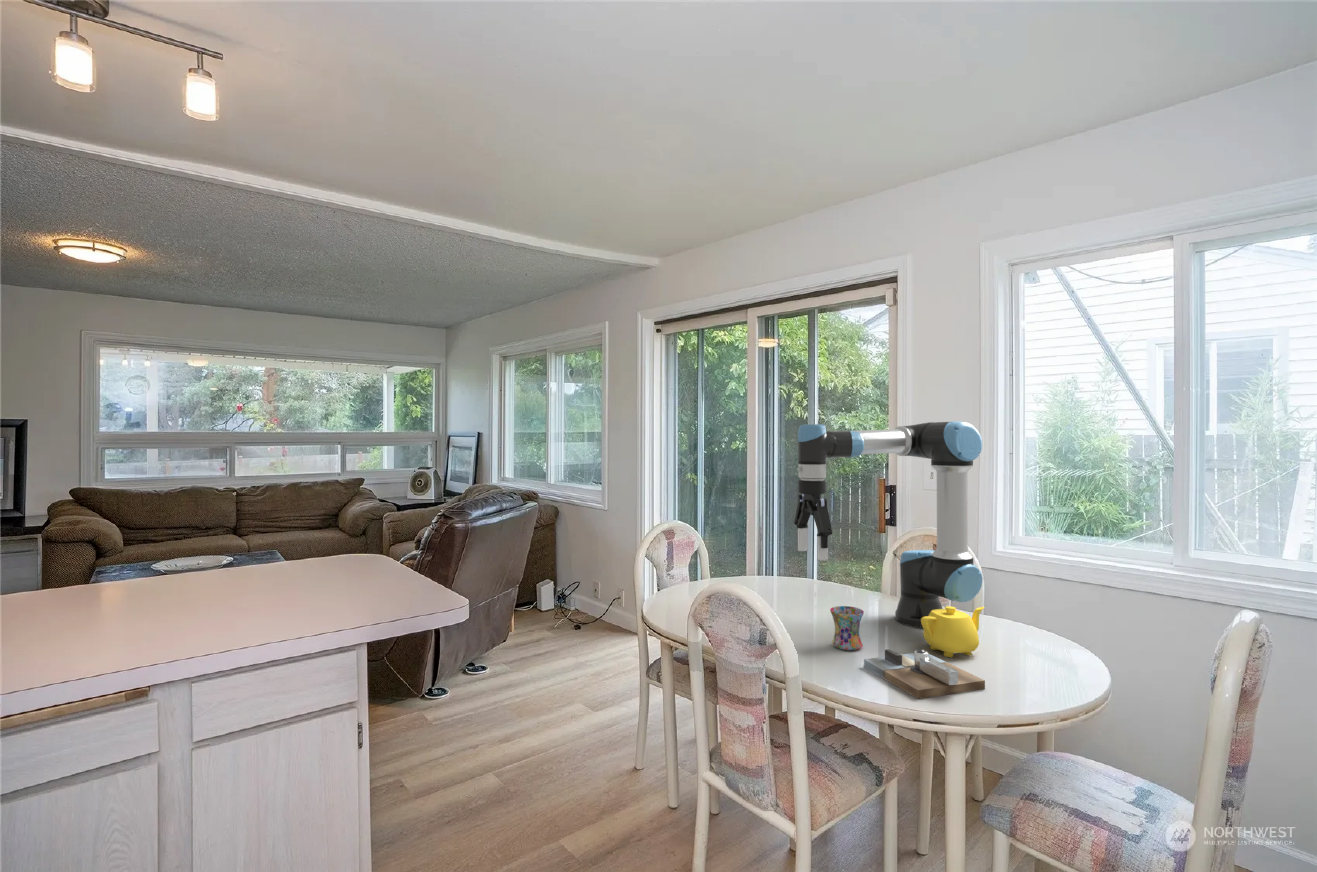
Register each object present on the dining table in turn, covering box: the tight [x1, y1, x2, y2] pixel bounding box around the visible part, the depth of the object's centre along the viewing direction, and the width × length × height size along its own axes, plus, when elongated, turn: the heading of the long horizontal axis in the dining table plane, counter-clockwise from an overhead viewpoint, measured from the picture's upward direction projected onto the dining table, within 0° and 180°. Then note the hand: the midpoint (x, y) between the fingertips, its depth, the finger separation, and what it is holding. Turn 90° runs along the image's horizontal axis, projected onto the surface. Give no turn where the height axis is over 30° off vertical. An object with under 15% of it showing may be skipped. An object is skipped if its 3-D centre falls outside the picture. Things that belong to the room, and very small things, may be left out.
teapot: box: [921, 605, 985, 658], centre depth 178 cm, size 13×20×12 cm
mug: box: [829, 605, 865, 651], centre depth 183 cm, size 12×9×11 cm
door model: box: [863, 648, 986, 700], centre depth 159 cm, size 19×21×4 cm
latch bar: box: [913, 648, 958, 685], centre depth 153 cm, size 13×3×4 cm, turn 17°
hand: (812, 555), depth 176 cm, fingers open, 13 cm apart
